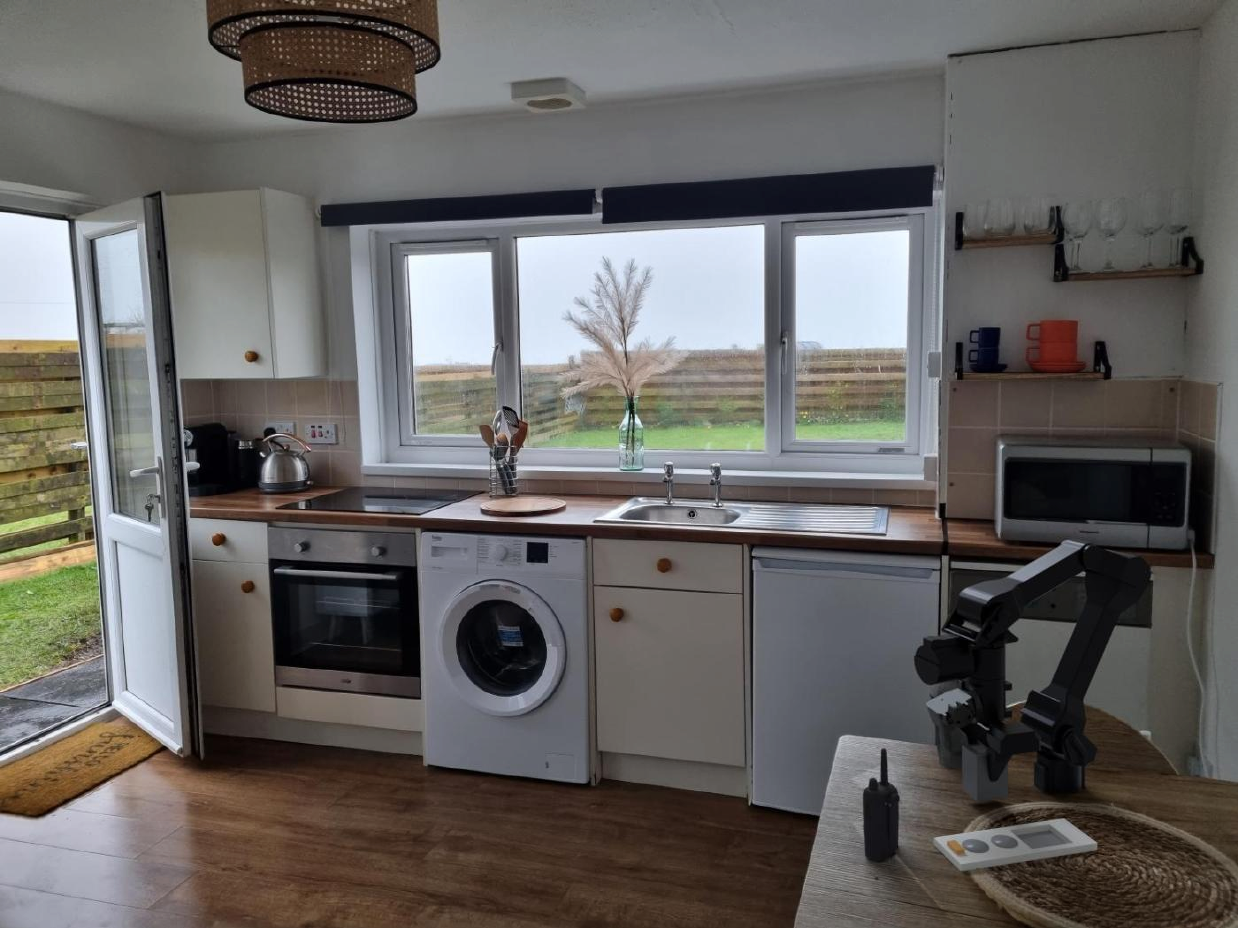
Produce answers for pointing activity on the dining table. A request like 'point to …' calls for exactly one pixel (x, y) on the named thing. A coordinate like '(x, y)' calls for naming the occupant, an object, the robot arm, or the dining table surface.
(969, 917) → the dining table surface
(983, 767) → the block
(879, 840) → the two-way radio
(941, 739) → the beverage cup
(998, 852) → the power strip
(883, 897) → the dining table surface
